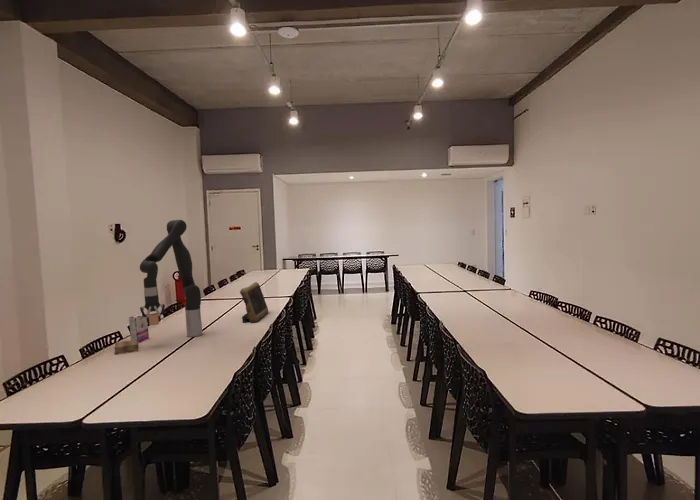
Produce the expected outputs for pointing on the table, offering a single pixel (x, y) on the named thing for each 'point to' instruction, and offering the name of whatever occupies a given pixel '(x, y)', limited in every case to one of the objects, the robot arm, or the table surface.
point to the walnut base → (126, 346)
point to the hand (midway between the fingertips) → (153, 322)
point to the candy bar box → (138, 327)
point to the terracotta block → (153, 319)
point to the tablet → (254, 303)
